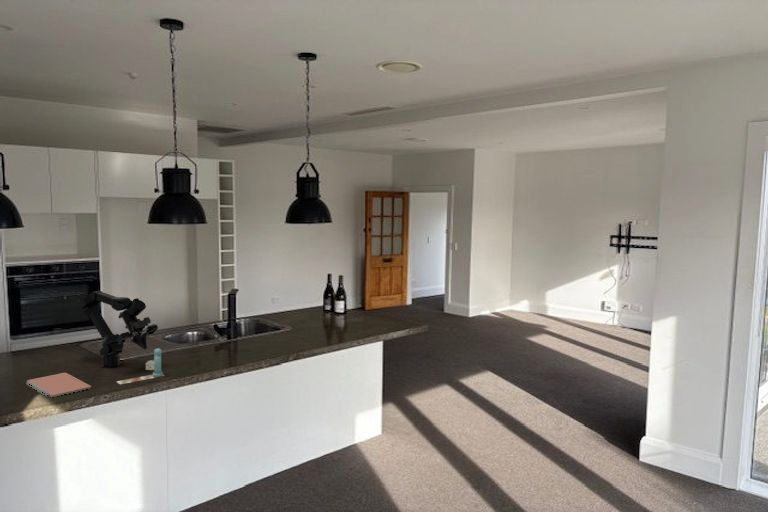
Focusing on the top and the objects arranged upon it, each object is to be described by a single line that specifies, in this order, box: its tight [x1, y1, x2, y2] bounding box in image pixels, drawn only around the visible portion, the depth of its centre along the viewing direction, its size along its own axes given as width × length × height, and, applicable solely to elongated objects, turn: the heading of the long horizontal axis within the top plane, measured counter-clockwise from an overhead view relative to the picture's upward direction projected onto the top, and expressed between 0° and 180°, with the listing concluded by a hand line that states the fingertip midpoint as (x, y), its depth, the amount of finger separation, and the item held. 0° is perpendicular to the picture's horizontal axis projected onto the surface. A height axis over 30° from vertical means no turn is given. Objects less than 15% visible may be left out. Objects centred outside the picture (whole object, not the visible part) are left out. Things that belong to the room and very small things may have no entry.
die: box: [145, 359, 154, 371], centre depth 262 cm, size 5×5×5 cm
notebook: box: [26, 372, 92, 399], centre depth 238 cm, size 27×17×2 cm, turn 52°
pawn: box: [152, 348, 164, 378], centre depth 252 cm, size 4×4×13 cm
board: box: [116, 374, 165, 385], centre depth 247 cm, size 21×6×2 cm, turn 135°
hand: (145, 349), depth 256 cm, fingers closed
